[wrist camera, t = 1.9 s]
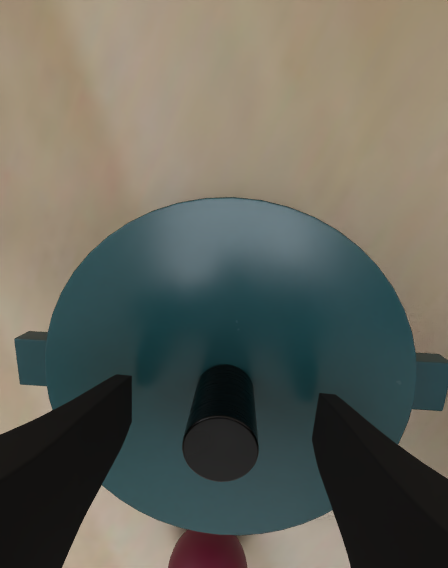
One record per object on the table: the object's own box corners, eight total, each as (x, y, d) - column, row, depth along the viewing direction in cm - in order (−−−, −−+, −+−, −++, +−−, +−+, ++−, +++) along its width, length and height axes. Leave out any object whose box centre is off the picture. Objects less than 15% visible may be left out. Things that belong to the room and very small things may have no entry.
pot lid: (373, 524, 15) (430, 652, 10) (72, 501, 15) (7, 611, 11) (433, 206, 11) (554, 197, 7) (44, 192, 12) (-67, 175, 7)
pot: (371, 440, 20) (427, 533, 14) (84, 420, 20) (23, 500, 15) (408, 221, 16) (502, 221, 11) (68, 208, 17) (-19, 202, 11)
